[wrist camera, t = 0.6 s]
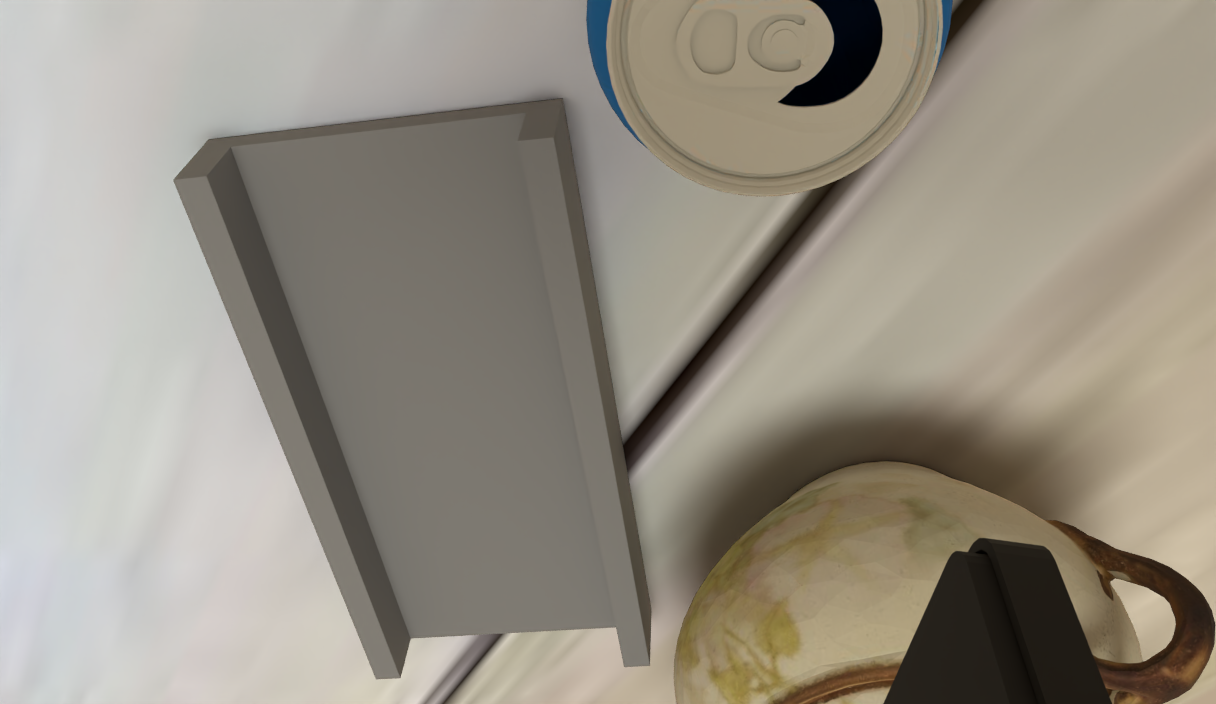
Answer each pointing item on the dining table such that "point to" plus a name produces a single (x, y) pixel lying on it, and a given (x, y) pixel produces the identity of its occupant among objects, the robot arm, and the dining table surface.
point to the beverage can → (766, 83)
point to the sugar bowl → (901, 593)
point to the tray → (433, 368)
